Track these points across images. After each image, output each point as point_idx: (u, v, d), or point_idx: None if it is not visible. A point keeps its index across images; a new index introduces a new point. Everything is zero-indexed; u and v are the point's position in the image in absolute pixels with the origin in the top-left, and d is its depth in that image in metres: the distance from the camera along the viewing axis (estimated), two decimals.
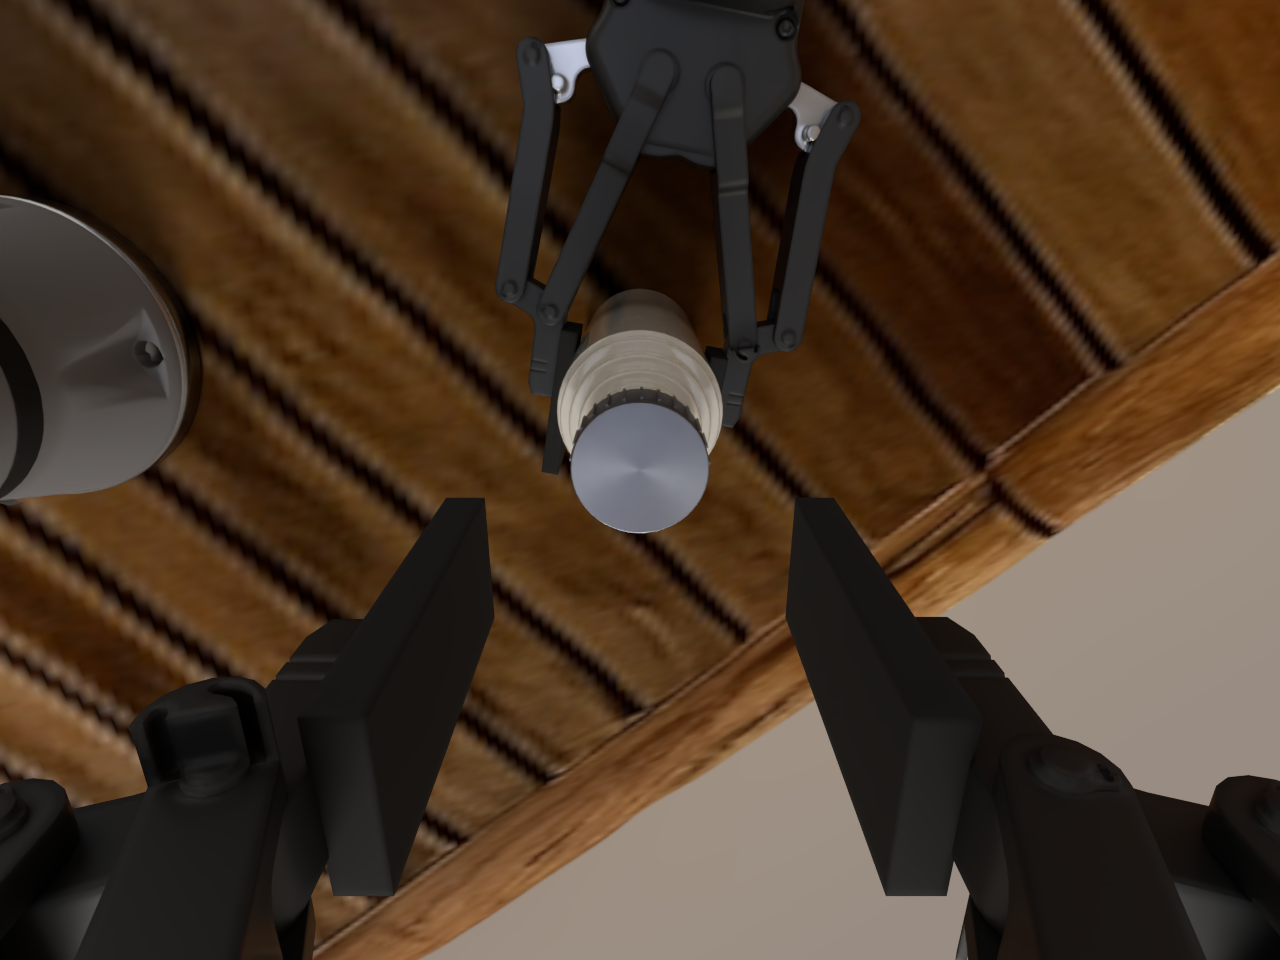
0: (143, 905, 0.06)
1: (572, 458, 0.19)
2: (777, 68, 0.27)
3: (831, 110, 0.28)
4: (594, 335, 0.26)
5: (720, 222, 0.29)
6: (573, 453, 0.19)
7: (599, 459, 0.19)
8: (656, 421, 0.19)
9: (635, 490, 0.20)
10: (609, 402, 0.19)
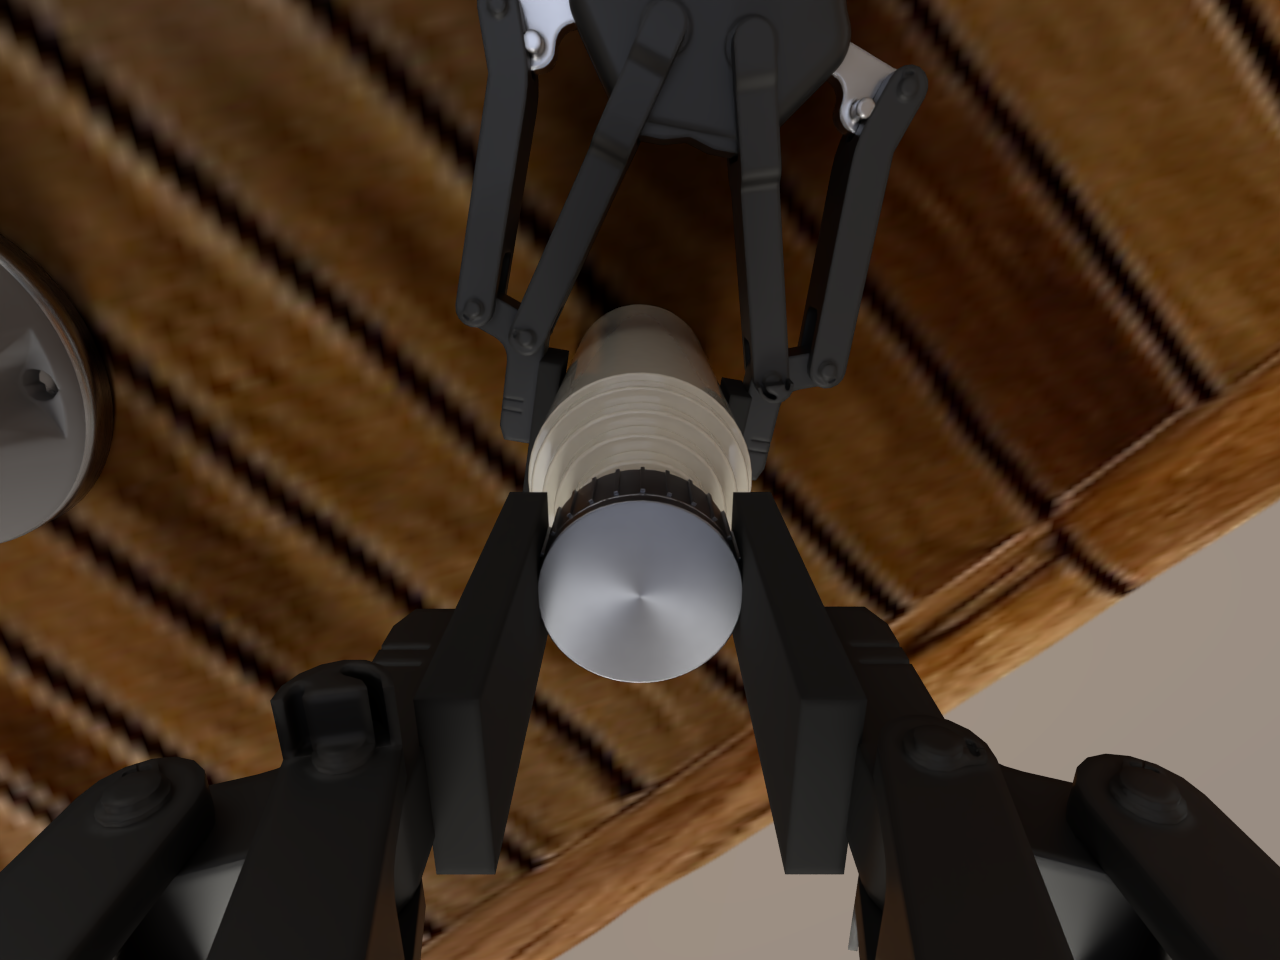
0: (283, 874, 0.06)
1: (539, 580, 0.13)
2: (820, 23, 0.21)
3: (889, 78, 0.21)
4: (579, 375, 0.20)
5: (743, 224, 0.23)
6: (540, 573, 0.13)
7: (579, 581, 0.13)
8: (665, 528, 0.13)
9: (633, 624, 0.13)
10: (594, 495, 0.13)
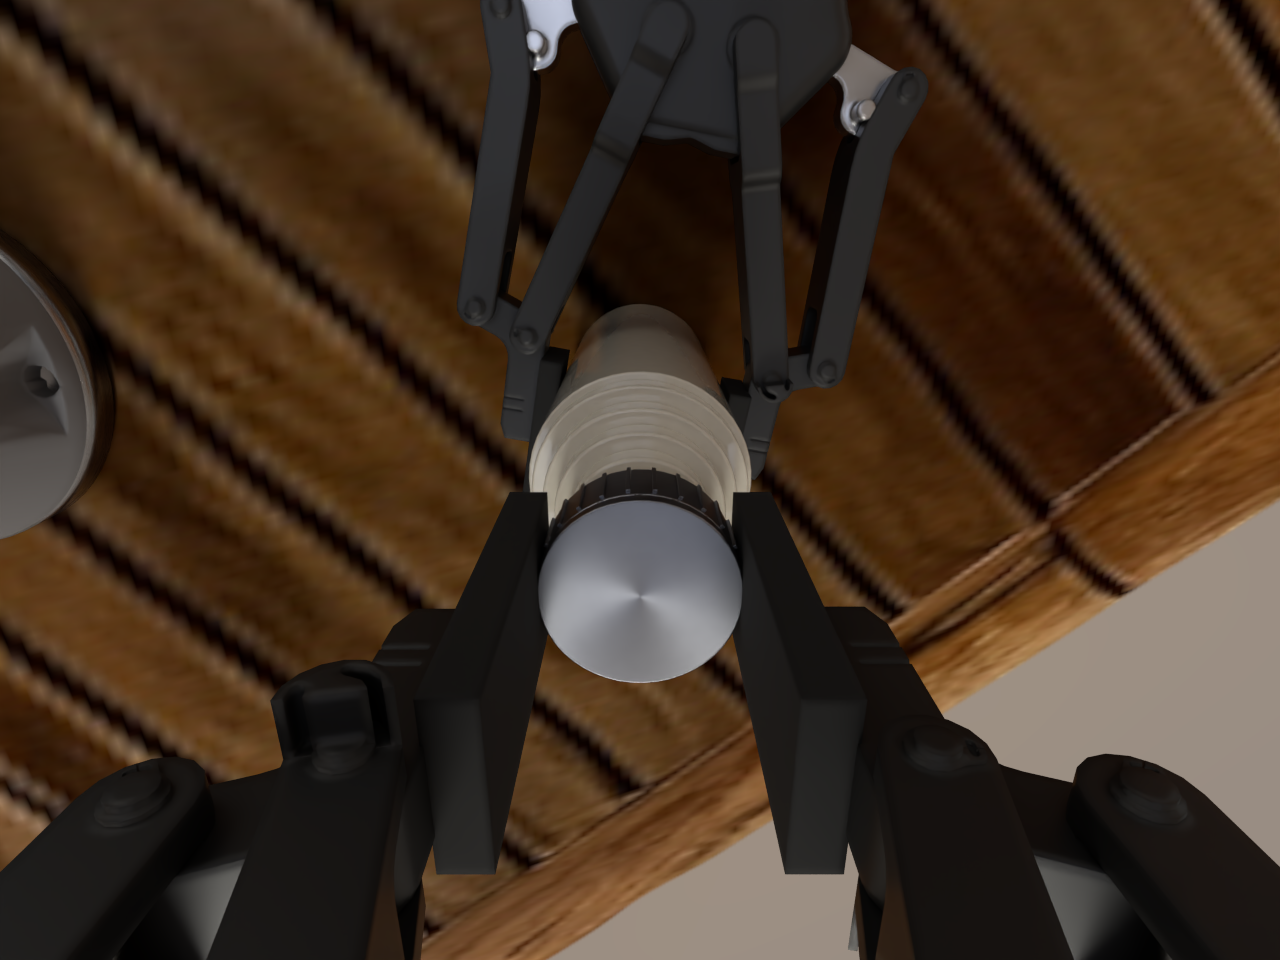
0: (281, 874, 0.06)
1: None
2: (821, 24, 0.21)
3: (890, 80, 0.21)
4: (580, 373, 0.20)
5: (743, 225, 0.23)
6: (647, 681, 0.14)
7: (643, 649, 0.13)
8: (560, 598, 0.13)
9: (673, 593, 0.13)
10: None
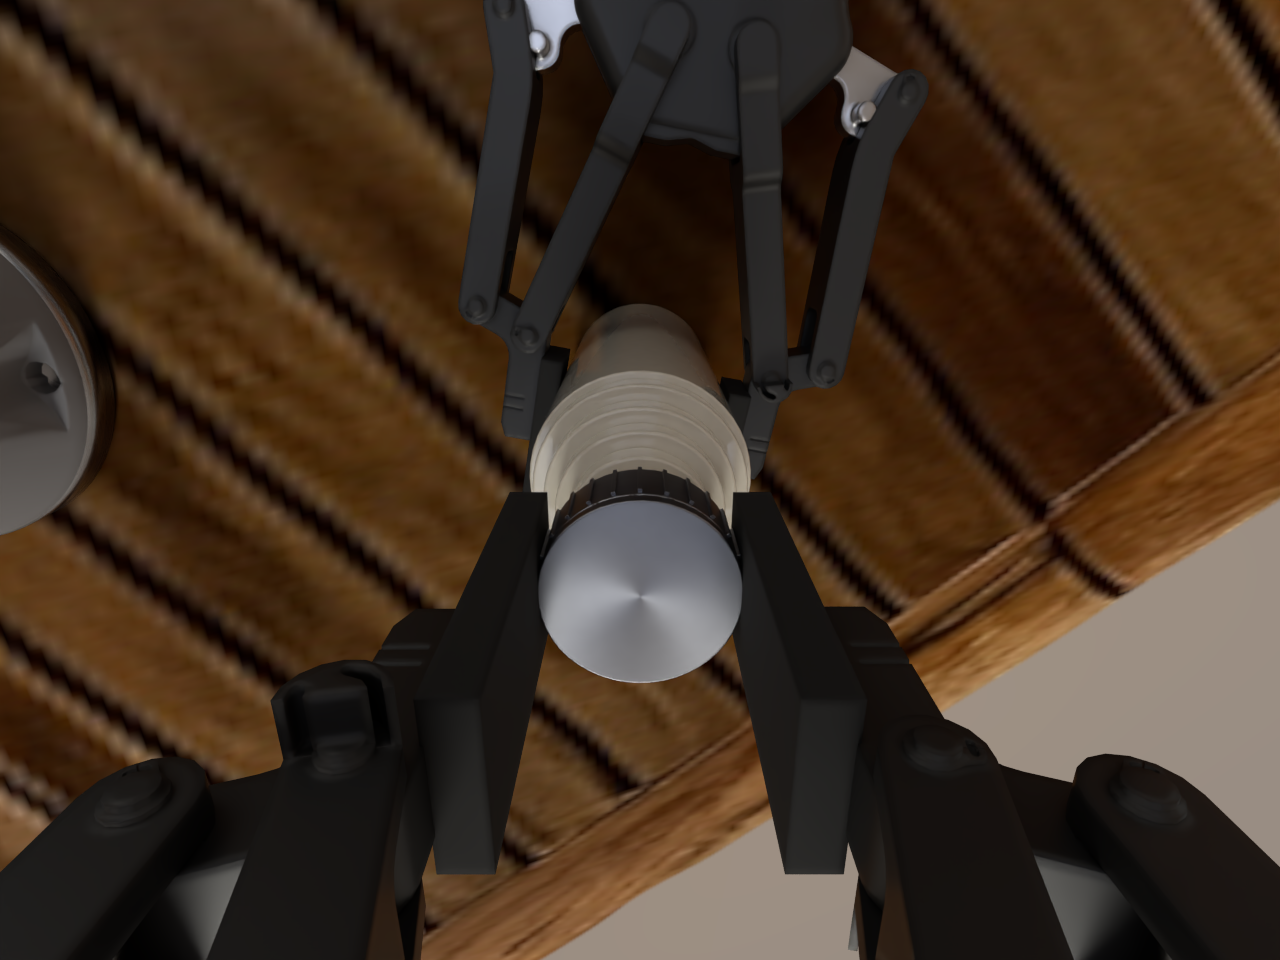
0: (283, 874, 0.06)
1: (733, 556, 0.13)
2: (822, 26, 0.21)
3: (890, 82, 0.21)
4: (581, 372, 0.20)
5: (744, 225, 0.23)
6: (736, 560, 0.13)
7: (699, 576, 0.13)
8: (666, 660, 0.13)
9: (626, 570, 0.13)
10: None
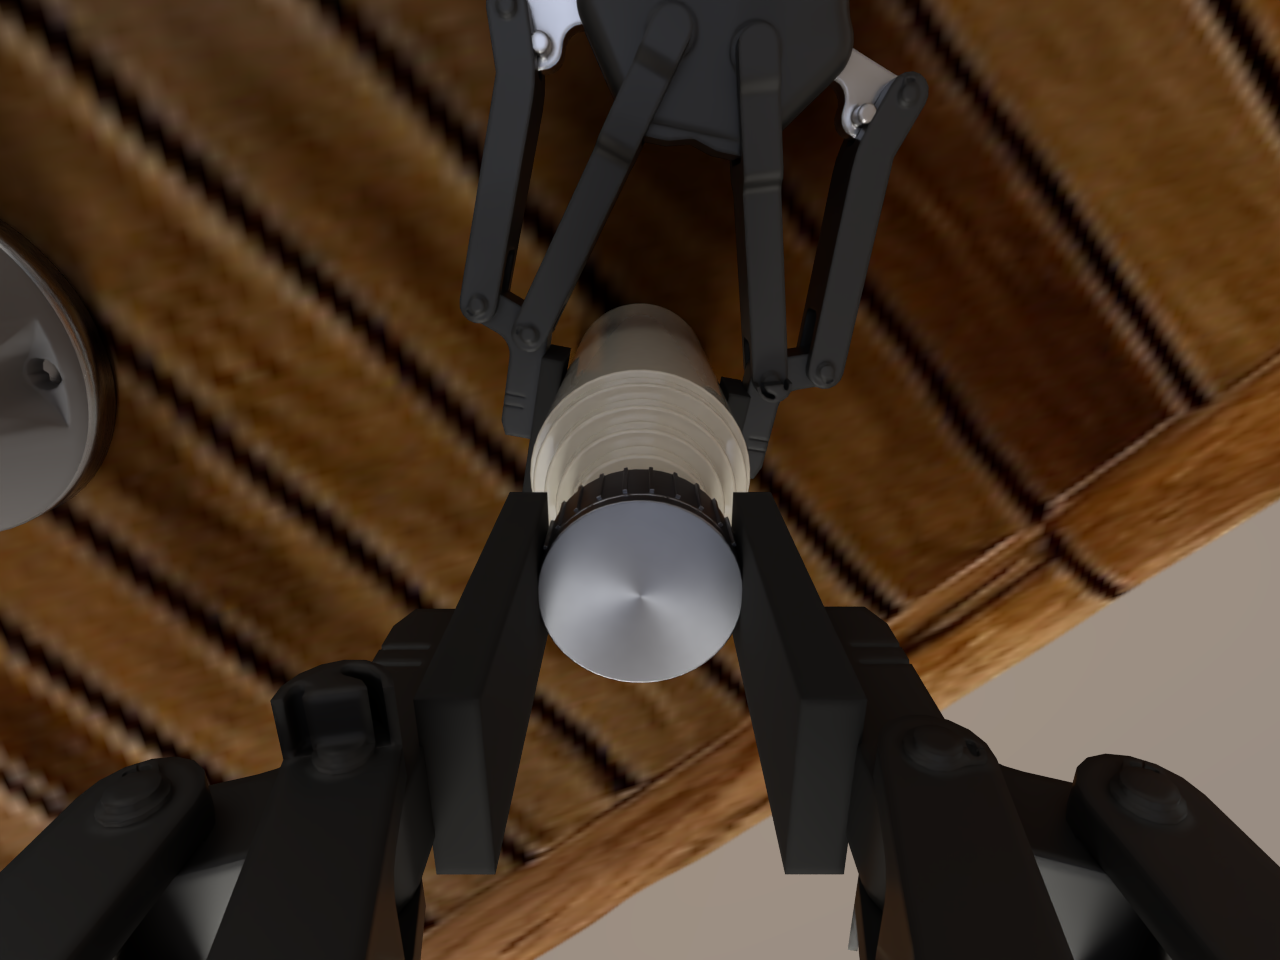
0: (283, 873, 0.06)
1: (564, 532, 0.13)
2: (823, 29, 0.21)
3: (891, 85, 0.21)
4: (582, 371, 0.20)
5: (744, 226, 0.23)
6: (570, 526, 0.13)
7: (598, 553, 0.13)
8: (703, 551, 0.13)
9: (616, 616, 0.13)
10: (654, 486, 0.13)
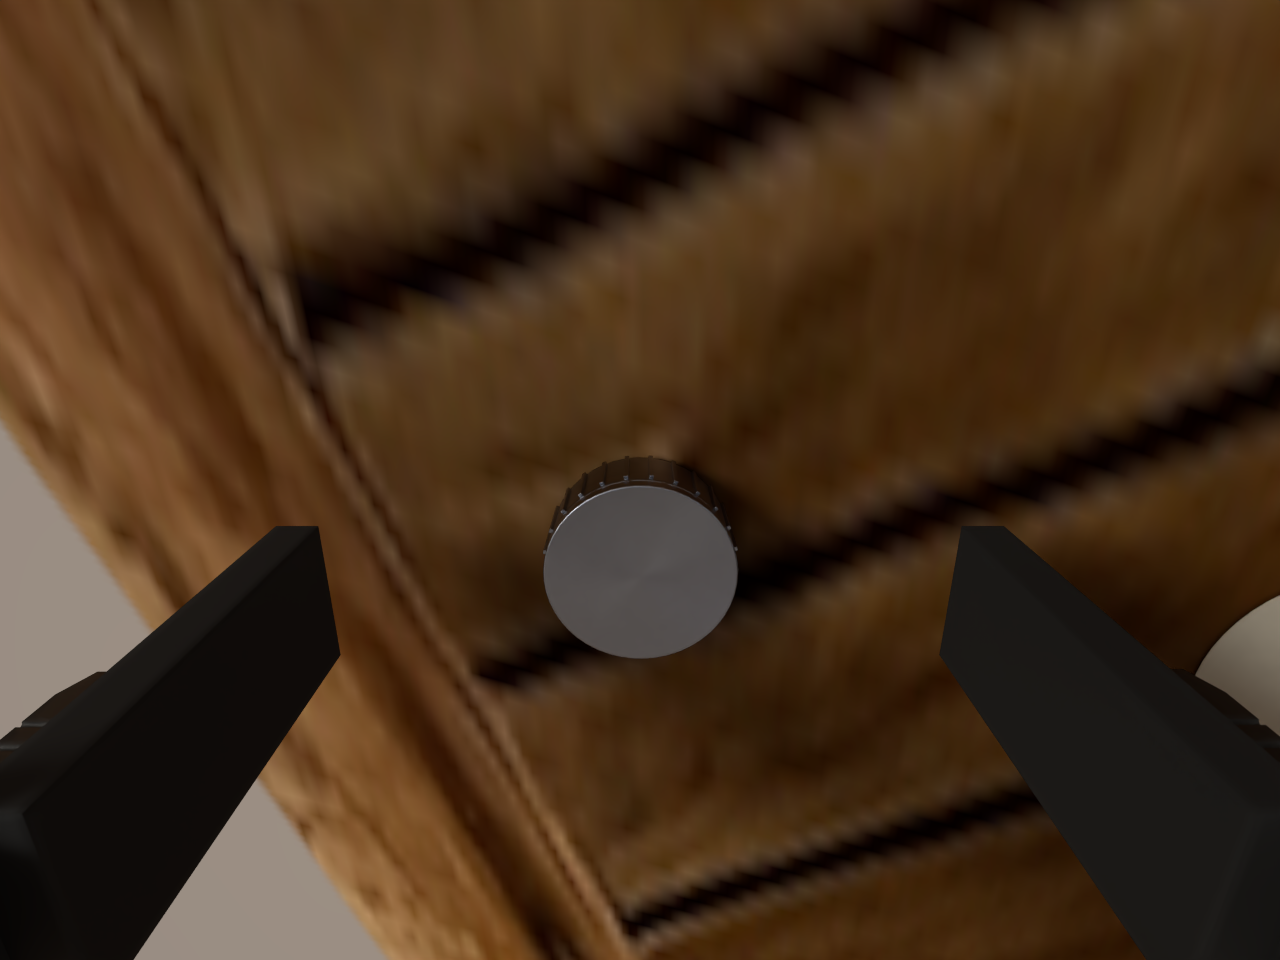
0: None
1: (569, 515, 0.13)
2: None
3: None
4: None
5: None
6: (574, 510, 0.13)
7: (601, 536, 0.14)
8: (700, 534, 0.14)
9: (618, 595, 0.14)
10: (653, 473, 0.14)
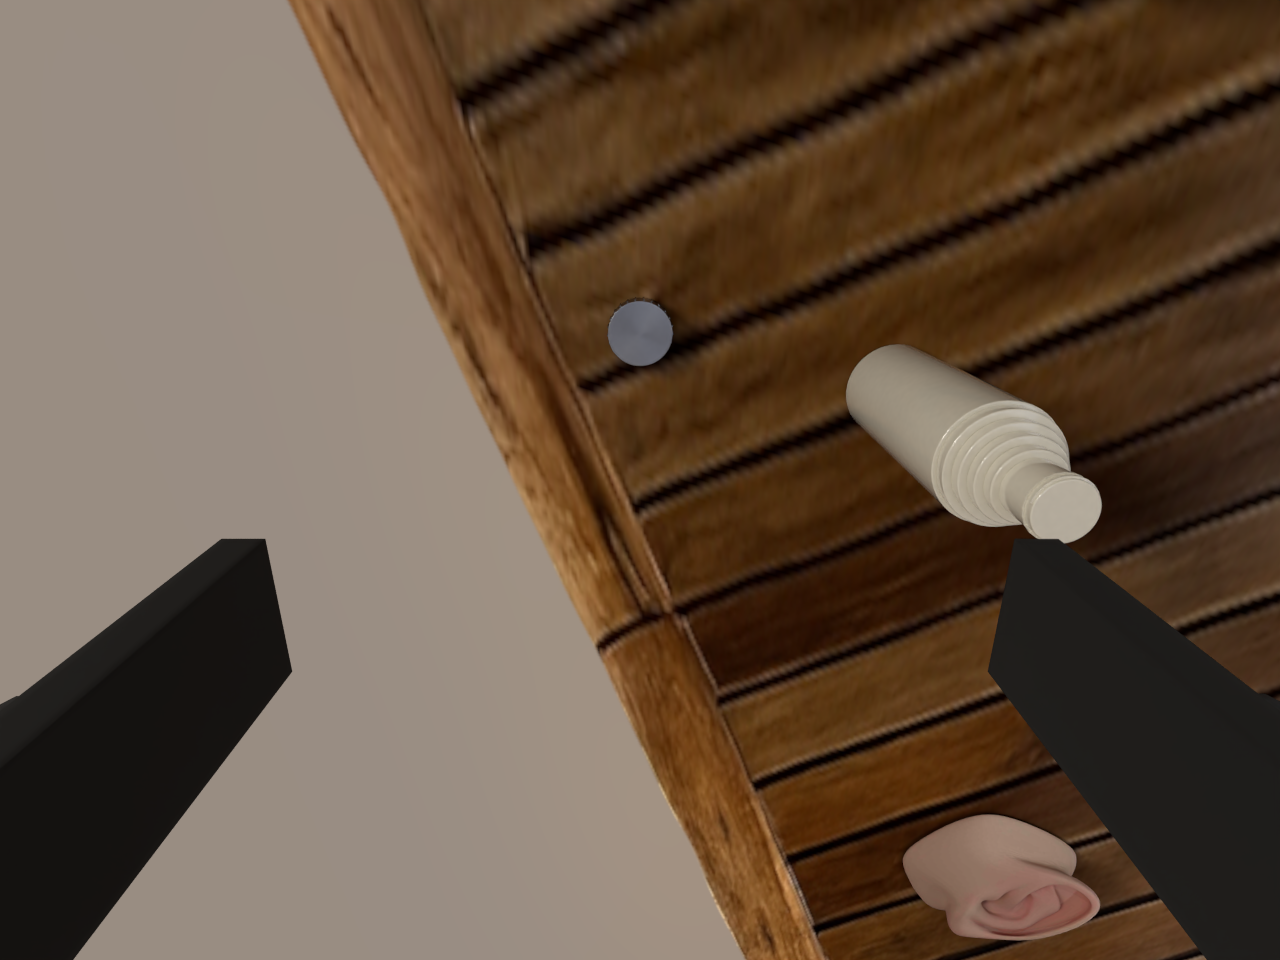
0: None
1: (617, 311, 0.41)
2: None
3: None
4: None
5: None
6: (618, 309, 0.41)
7: (627, 319, 0.42)
8: (659, 318, 0.42)
9: (632, 341, 0.42)
10: (644, 299, 0.42)
